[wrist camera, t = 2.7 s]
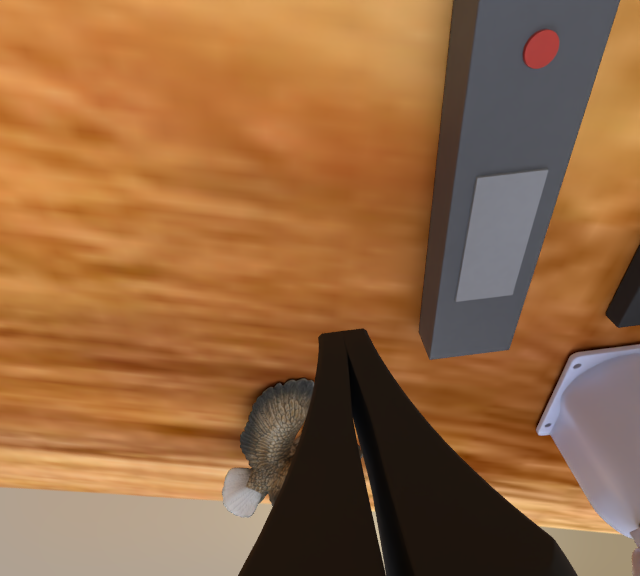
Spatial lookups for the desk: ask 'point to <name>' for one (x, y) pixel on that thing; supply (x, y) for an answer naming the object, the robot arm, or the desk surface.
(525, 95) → the remote
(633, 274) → the strip
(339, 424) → the robot arm
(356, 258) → the desk surface
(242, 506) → the eagle figurine
